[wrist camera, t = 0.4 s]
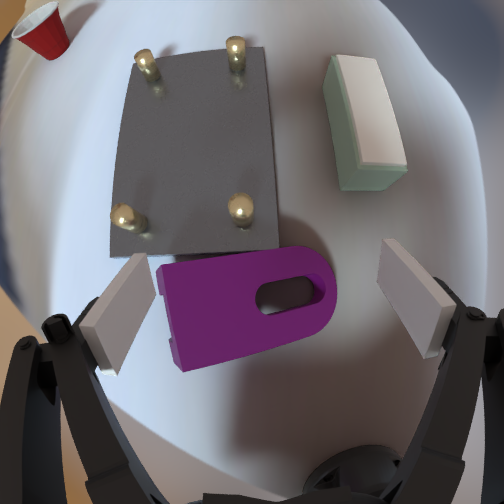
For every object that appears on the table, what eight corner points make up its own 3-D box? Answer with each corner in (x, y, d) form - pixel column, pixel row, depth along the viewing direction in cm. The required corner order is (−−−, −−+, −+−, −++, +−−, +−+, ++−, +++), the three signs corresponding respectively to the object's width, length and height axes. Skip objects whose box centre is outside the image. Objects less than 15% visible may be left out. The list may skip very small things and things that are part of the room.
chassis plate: (278, 250, 34) (283, 242, 27) (115, 258, 34) (88, 252, 28) (262, 53, 37) (263, 23, 31) (136, 69, 37) (122, 43, 31)
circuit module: (382, 191, 35) (411, 168, 27) (339, 191, 35) (360, 166, 27) (360, 90, 36) (377, 57, 28) (321, 87, 36) (332, 51, 28)
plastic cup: (89, 29, 39) (67, -7, 28) (62, 67, 38) (32, 31, 26) (56, 35, 40) (34, 4, 28) (31, 71, 39) (2, 42, 27)
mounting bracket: (288, 254, 40) (152, 275, 32) (327, 241, 32) (161, 264, 24) (301, 323, 39) (168, 357, 31) (343, 324, 31) (182, 372, 23)
